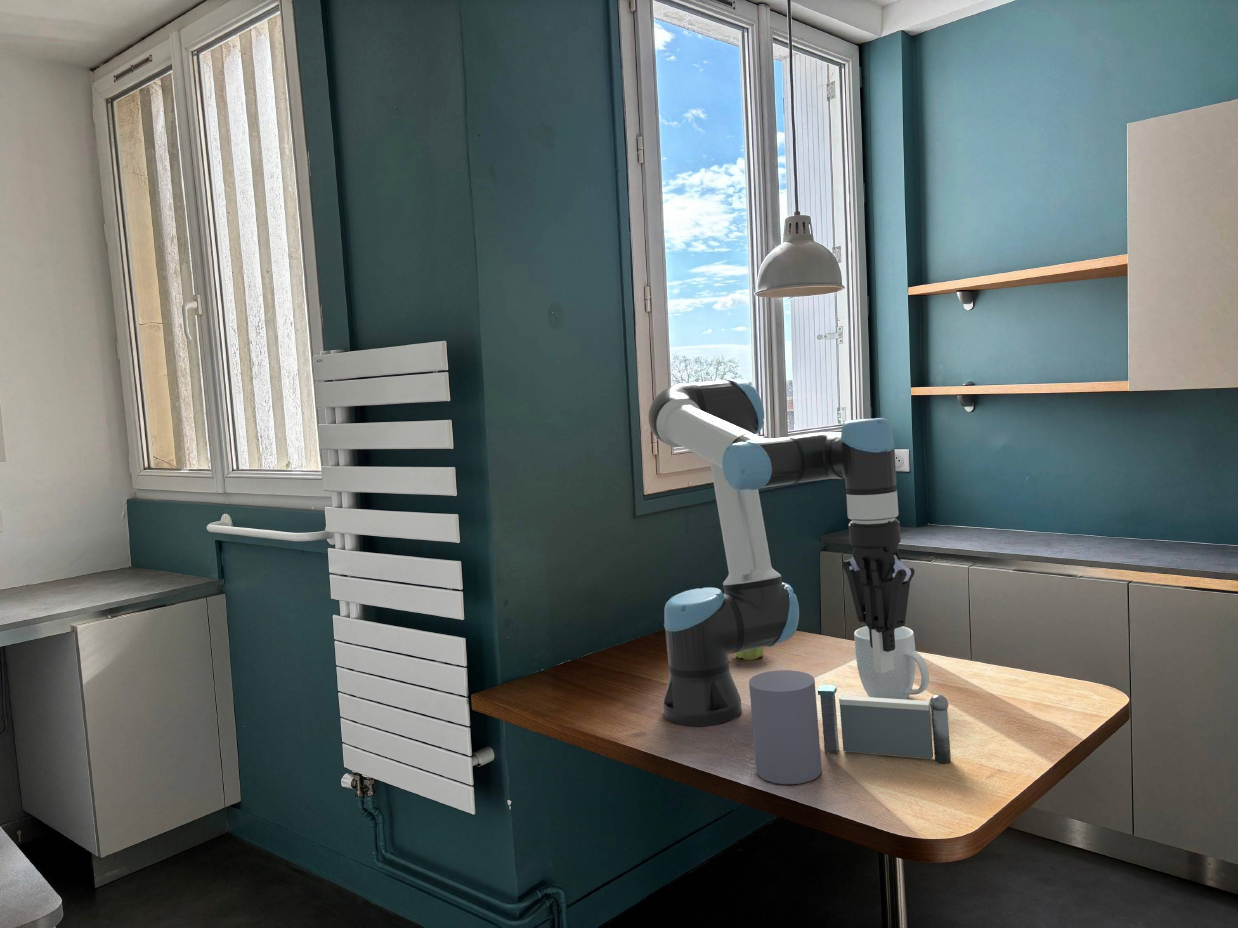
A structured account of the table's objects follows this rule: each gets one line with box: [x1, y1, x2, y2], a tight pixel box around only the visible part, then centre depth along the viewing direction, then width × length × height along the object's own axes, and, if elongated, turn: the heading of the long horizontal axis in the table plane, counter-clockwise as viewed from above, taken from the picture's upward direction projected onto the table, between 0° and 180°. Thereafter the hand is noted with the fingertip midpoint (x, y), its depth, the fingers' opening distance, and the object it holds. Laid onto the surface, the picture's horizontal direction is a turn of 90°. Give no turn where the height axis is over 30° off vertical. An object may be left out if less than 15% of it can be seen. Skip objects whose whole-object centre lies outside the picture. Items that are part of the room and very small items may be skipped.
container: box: [748, 669, 822, 786], centre depth 138 cm, size 10×10×15 cm
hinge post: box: [929, 694, 952, 765], centre depth 137 cm, size 3×3×11 cm
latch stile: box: [817, 684, 840, 755], centre depth 145 cm, size 3×3×11 cm
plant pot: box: [735, 647, 764, 661], centre depth 201 cm, size 9×9×9 cm
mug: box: [853, 625, 930, 700], centre depth 164 cm, size 15×11×13 cm
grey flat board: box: [838, 695, 934, 760], centre depth 141 cm, size 14×2×9 cm, turn 64°
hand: (884, 669), depth 134 cm, fingers closed
